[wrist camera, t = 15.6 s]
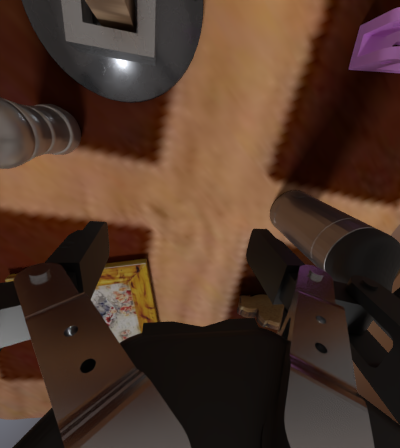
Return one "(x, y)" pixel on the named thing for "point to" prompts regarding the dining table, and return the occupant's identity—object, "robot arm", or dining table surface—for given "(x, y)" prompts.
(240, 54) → the dining table surface
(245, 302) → the wooden carving
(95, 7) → the tan rectangular block
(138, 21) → the grey round socket base
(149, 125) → the dining table surface
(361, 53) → the bracket
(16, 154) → the plastic bottle
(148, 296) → the picture frame
